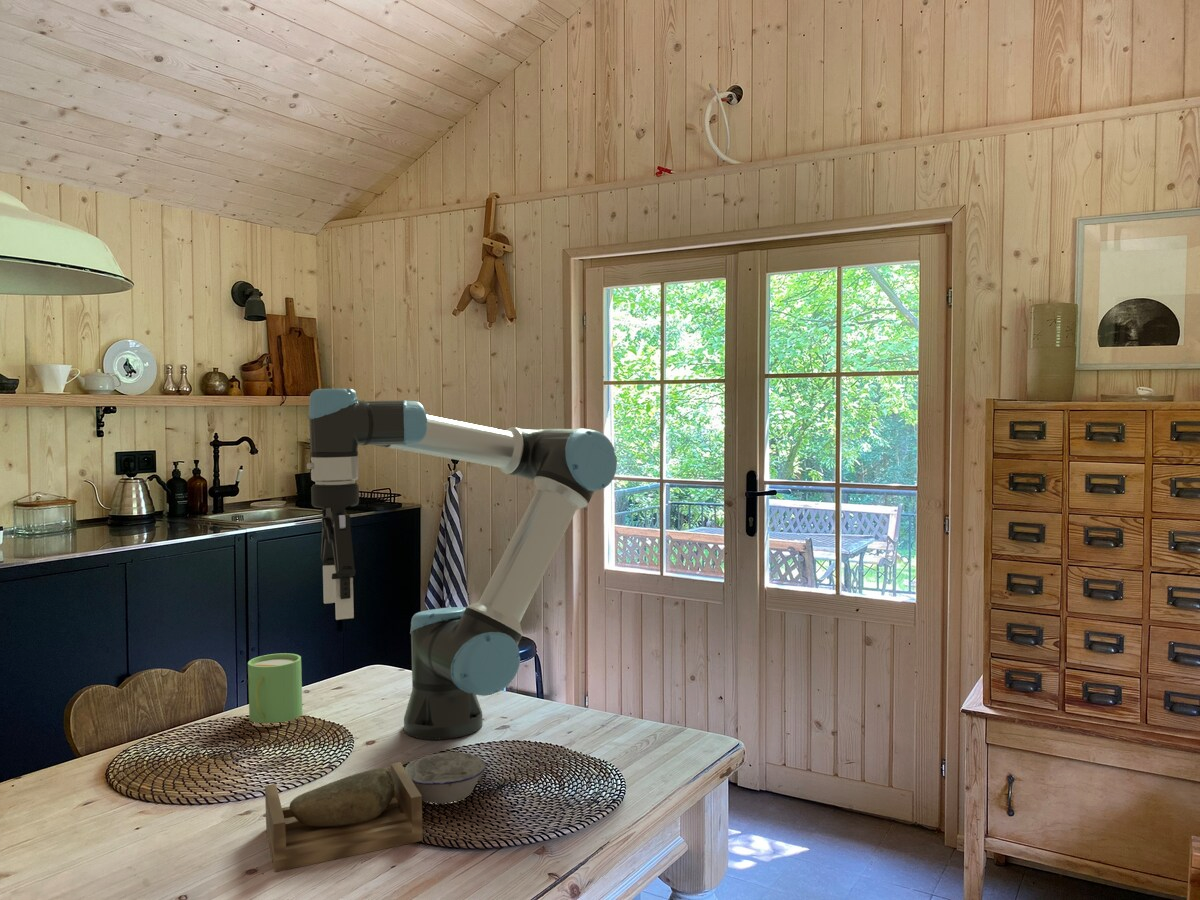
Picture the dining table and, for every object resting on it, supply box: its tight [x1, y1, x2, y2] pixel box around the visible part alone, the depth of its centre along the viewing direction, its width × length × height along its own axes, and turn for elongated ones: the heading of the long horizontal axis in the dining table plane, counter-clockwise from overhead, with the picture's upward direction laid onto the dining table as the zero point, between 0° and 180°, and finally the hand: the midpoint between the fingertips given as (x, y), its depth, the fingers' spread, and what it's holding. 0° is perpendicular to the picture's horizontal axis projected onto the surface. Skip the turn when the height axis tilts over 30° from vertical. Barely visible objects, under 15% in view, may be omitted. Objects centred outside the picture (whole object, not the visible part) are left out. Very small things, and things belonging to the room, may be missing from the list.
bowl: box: [404, 751, 487, 803], centre depth 144 cm, size 13×13×5 cm
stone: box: [288, 767, 395, 827], centre depth 131 cm, size 9×14×10 cm, turn 111°
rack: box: [264, 761, 424, 873], centre depth 131 cm, size 20×14×6 cm
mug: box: [245, 652, 303, 724], centre depth 180 cm, size 13×10×12 cm
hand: (338, 610), depth 149 cm, fingers open, 13 cm apart
